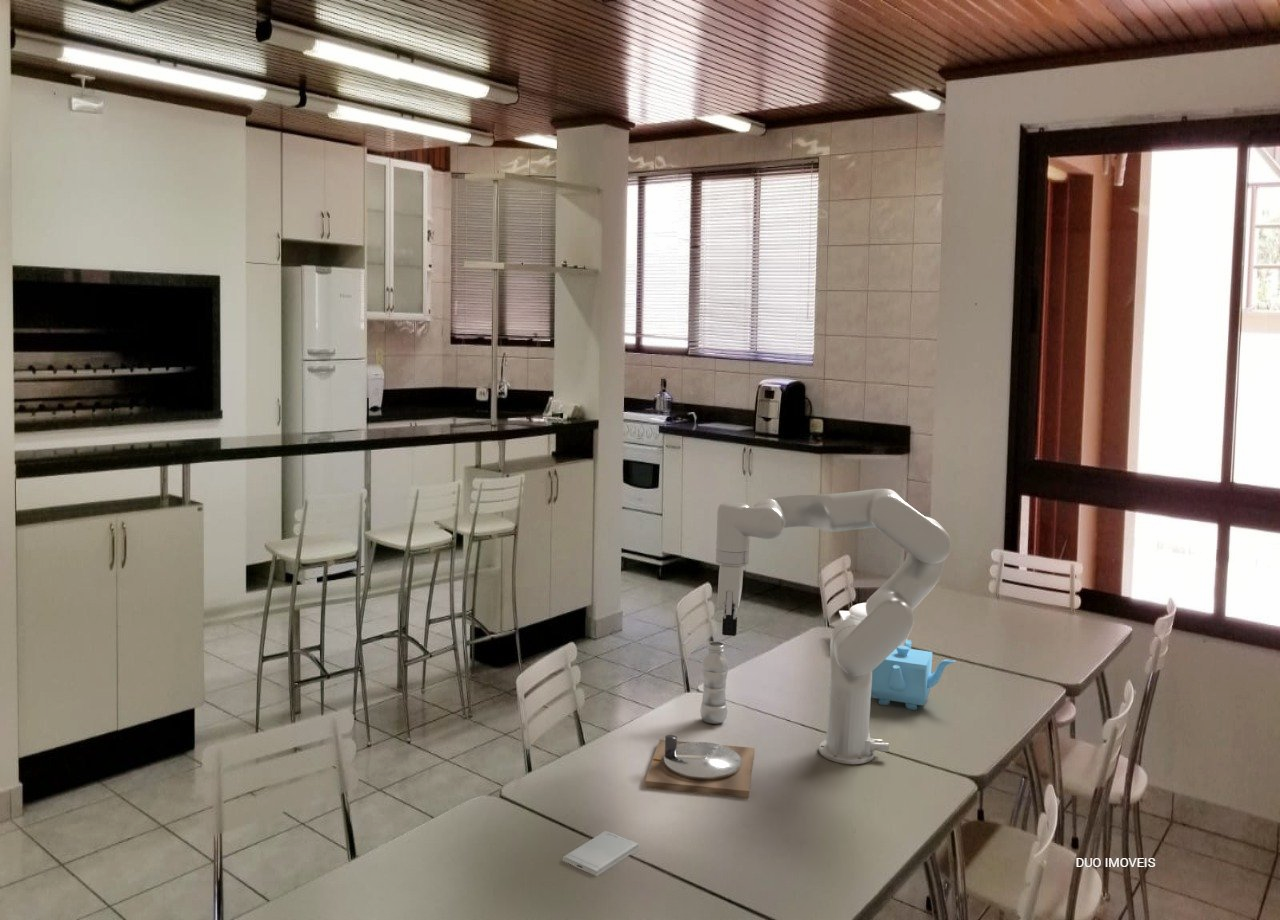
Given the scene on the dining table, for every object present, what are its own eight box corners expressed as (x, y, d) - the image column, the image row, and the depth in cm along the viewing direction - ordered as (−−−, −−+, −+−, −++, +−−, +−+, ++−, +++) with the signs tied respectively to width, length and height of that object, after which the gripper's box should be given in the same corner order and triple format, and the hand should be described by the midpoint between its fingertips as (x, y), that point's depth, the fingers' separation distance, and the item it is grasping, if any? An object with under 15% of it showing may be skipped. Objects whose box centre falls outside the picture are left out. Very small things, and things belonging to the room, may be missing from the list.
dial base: (754, 754, 241) (754, 746, 240) (748, 797, 219) (749, 789, 219) (659, 745, 244) (659, 738, 244) (645, 787, 223) (645, 779, 222)
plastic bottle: (725, 728, 255) (728, 649, 252) (697, 725, 256) (700, 646, 254) (728, 718, 261) (731, 641, 258) (701, 715, 263) (704, 638, 260)
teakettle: (850, 693, 281) (853, 640, 279) (907, 684, 288) (911, 632, 286) (894, 718, 264) (897, 662, 262) (953, 709, 271) (957, 654, 269)
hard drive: (605, 829, 202) (562, 855, 192) (638, 843, 197) (596, 870, 187) (605, 837, 202) (562, 863, 193) (638, 851, 197) (596, 879, 188)
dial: (738, 748, 239) (739, 724, 239) (742, 781, 223) (743, 756, 222) (664, 745, 240) (665, 721, 239) (662, 778, 223) (663, 753, 222)
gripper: (718, 548, 246) (715, 623, 249) (712, 563, 231) (709, 643, 234) (750, 550, 245) (747, 626, 247) (746, 565, 230) (743, 645, 233)
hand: (729, 634), depth 241 cm, fingers closed
